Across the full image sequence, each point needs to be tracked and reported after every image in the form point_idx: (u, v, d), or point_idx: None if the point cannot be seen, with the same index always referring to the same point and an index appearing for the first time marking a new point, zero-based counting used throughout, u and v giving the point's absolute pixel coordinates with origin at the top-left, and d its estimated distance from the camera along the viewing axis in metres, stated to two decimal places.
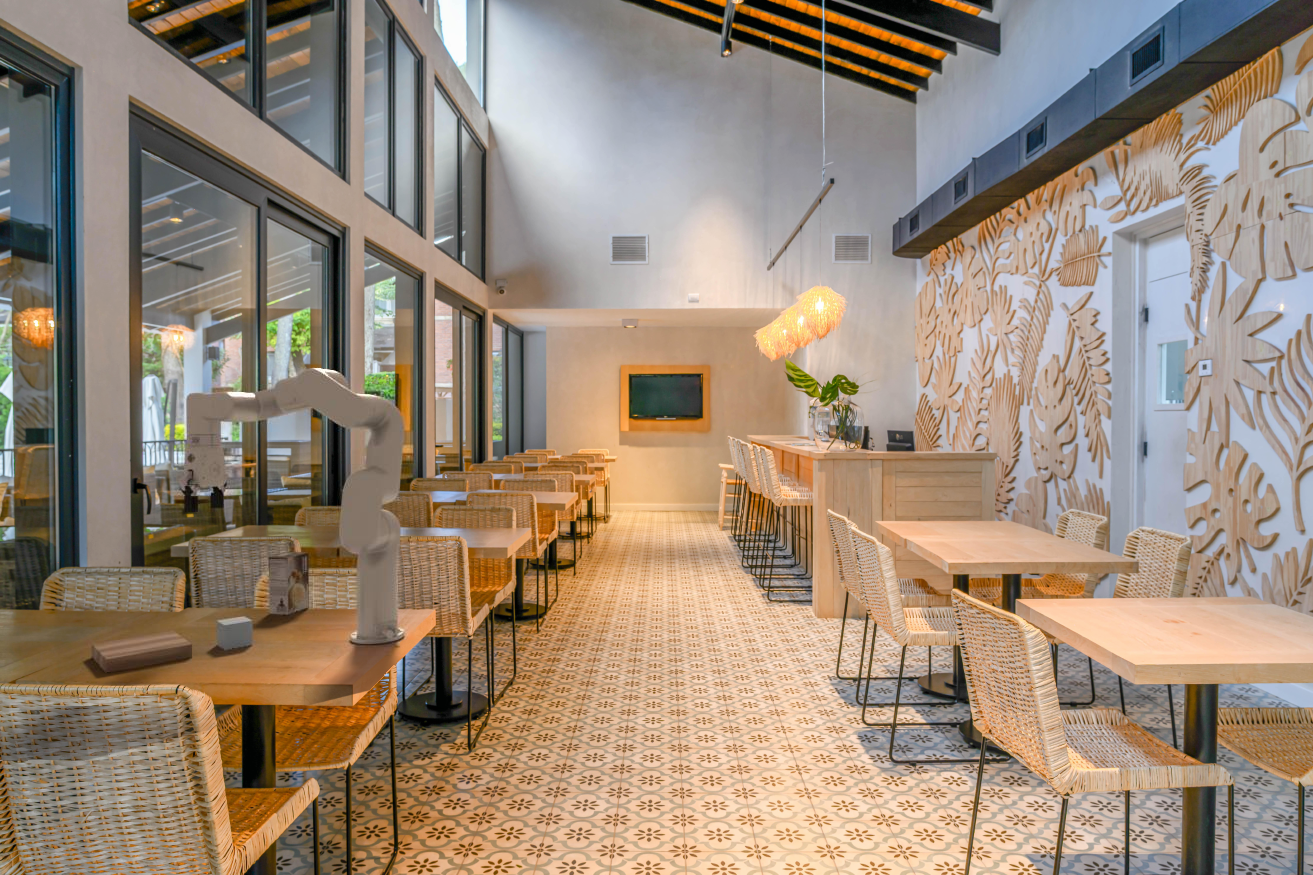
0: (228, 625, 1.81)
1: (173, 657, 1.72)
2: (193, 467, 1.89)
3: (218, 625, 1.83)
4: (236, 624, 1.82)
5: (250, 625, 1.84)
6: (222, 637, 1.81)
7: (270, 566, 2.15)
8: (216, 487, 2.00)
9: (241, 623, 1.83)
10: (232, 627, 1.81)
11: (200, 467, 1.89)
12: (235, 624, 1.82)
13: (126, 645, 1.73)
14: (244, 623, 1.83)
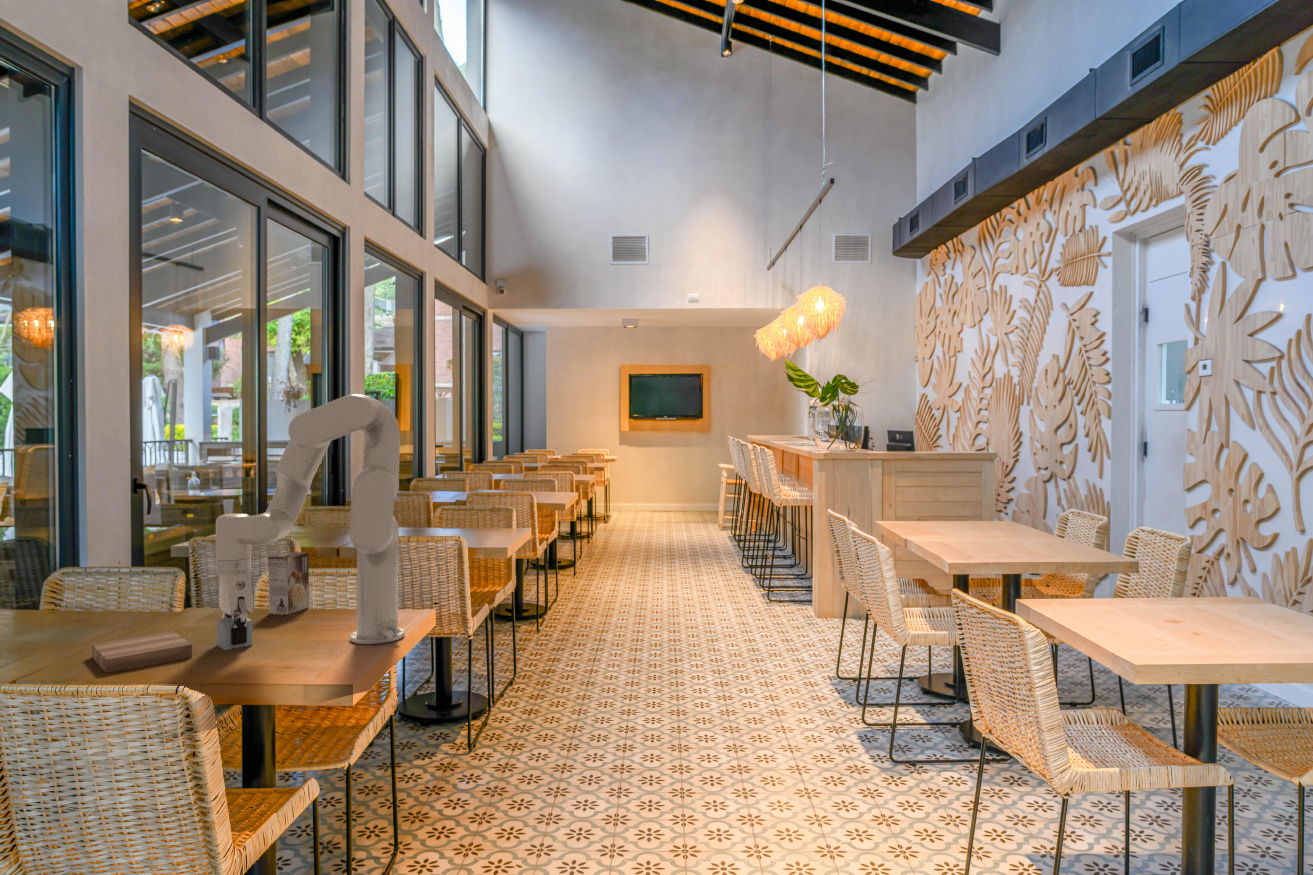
0: (228, 625, 1.81)
1: (173, 657, 1.72)
2: (244, 596, 1.81)
3: (218, 625, 1.83)
4: None
5: (250, 625, 1.84)
6: (222, 637, 1.81)
7: (270, 566, 2.15)
8: None
9: None
10: (231, 626, 1.81)
11: (251, 592, 1.83)
12: None
13: (126, 645, 1.73)
14: None
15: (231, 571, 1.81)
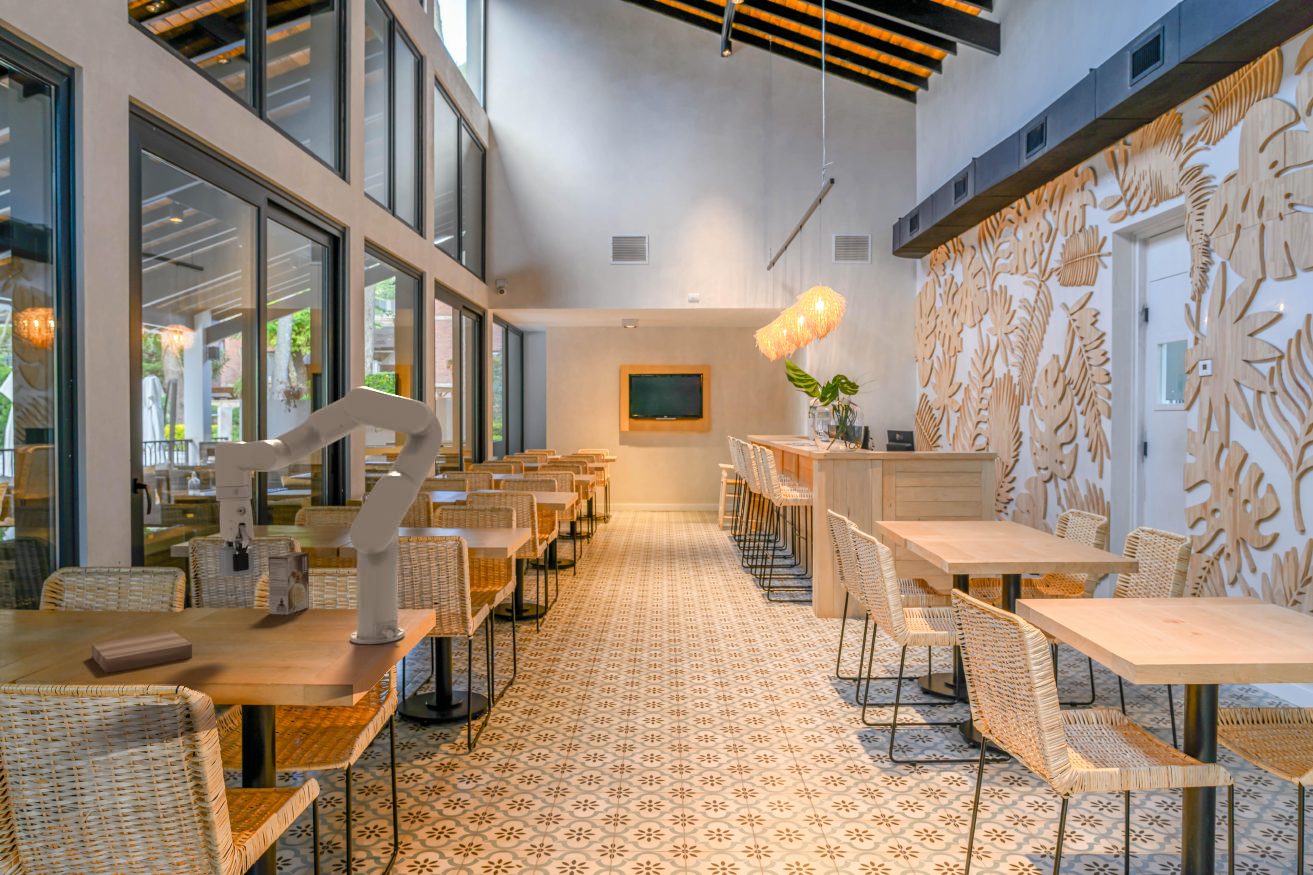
0: (229, 551, 1.81)
1: (173, 657, 1.72)
2: (245, 522, 1.81)
3: (219, 553, 1.83)
4: None
5: (251, 552, 1.84)
6: (224, 564, 1.81)
7: (270, 566, 2.15)
8: (228, 545, 1.87)
9: None
10: (233, 553, 1.81)
11: (252, 519, 1.82)
12: None
13: (126, 645, 1.73)
14: None
15: (231, 497, 1.80)
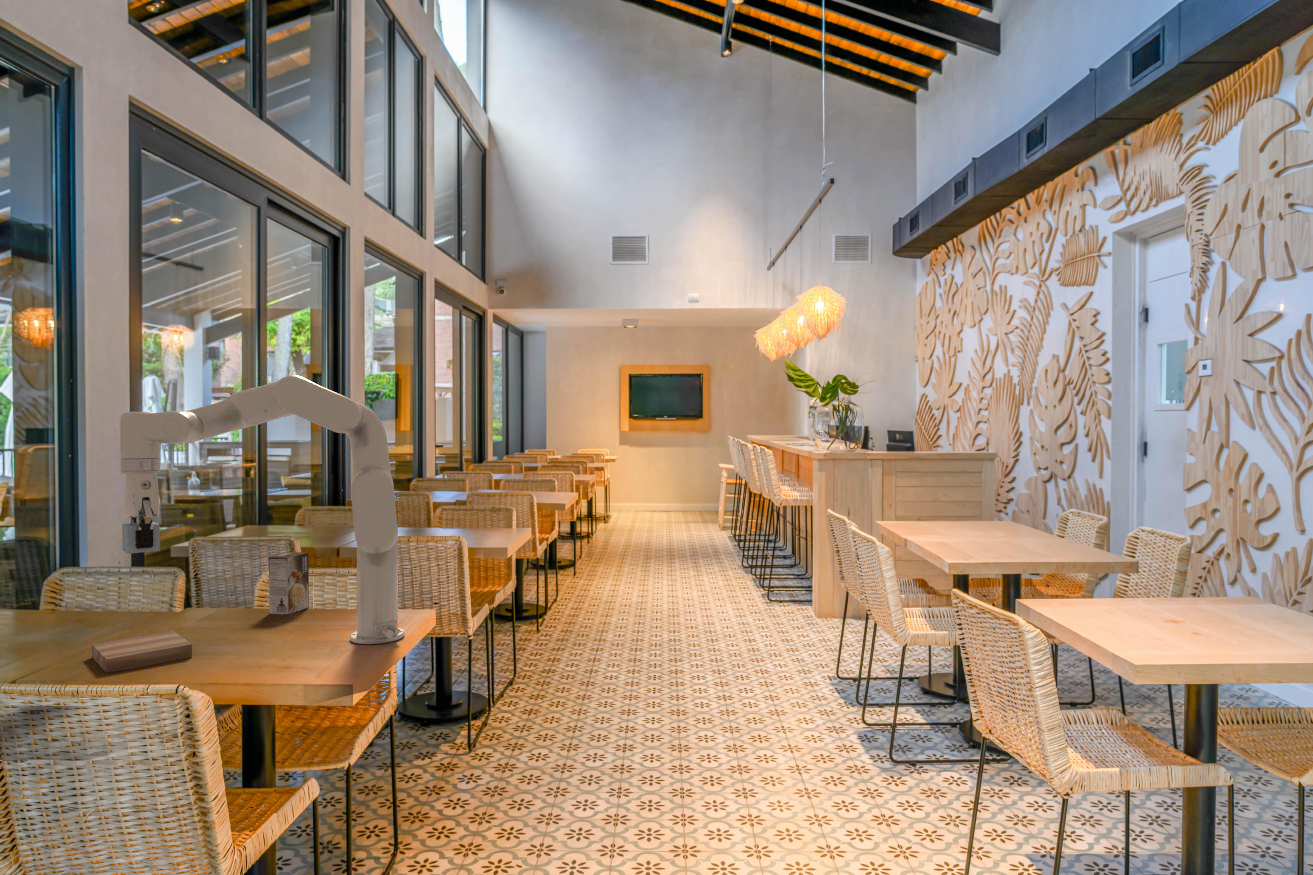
0: (132, 527, 1.71)
1: (173, 657, 1.72)
2: (150, 497, 1.71)
3: (123, 528, 1.73)
4: None
5: (157, 529, 1.74)
6: (126, 540, 1.71)
7: (270, 566, 2.15)
8: (134, 521, 1.77)
9: None
10: (136, 529, 1.71)
11: (157, 494, 1.72)
12: None
13: (126, 645, 1.73)
14: None
15: (135, 470, 1.71)
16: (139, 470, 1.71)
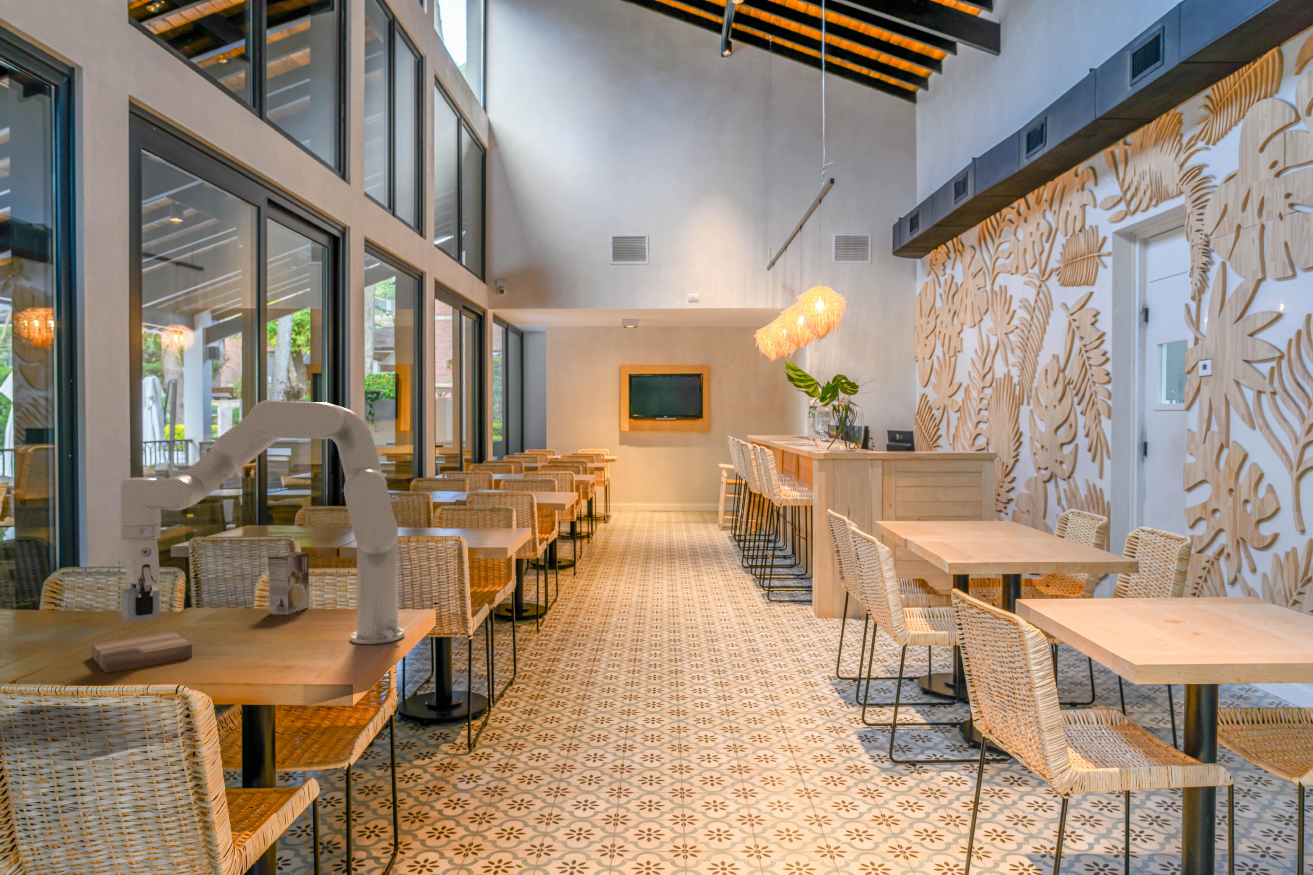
0: (132, 594, 1.71)
1: (173, 657, 1.72)
2: (150, 564, 1.71)
3: (123, 594, 1.73)
4: None
5: (157, 595, 1.74)
6: (126, 607, 1.71)
7: (270, 566, 2.15)
8: (134, 586, 1.77)
9: None
10: (136, 596, 1.71)
11: (157, 560, 1.73)
12: None
13: (126, 645, 1.73)
14: None
15: (136, 537, 1.71)
16: (139, 537, 1.71)
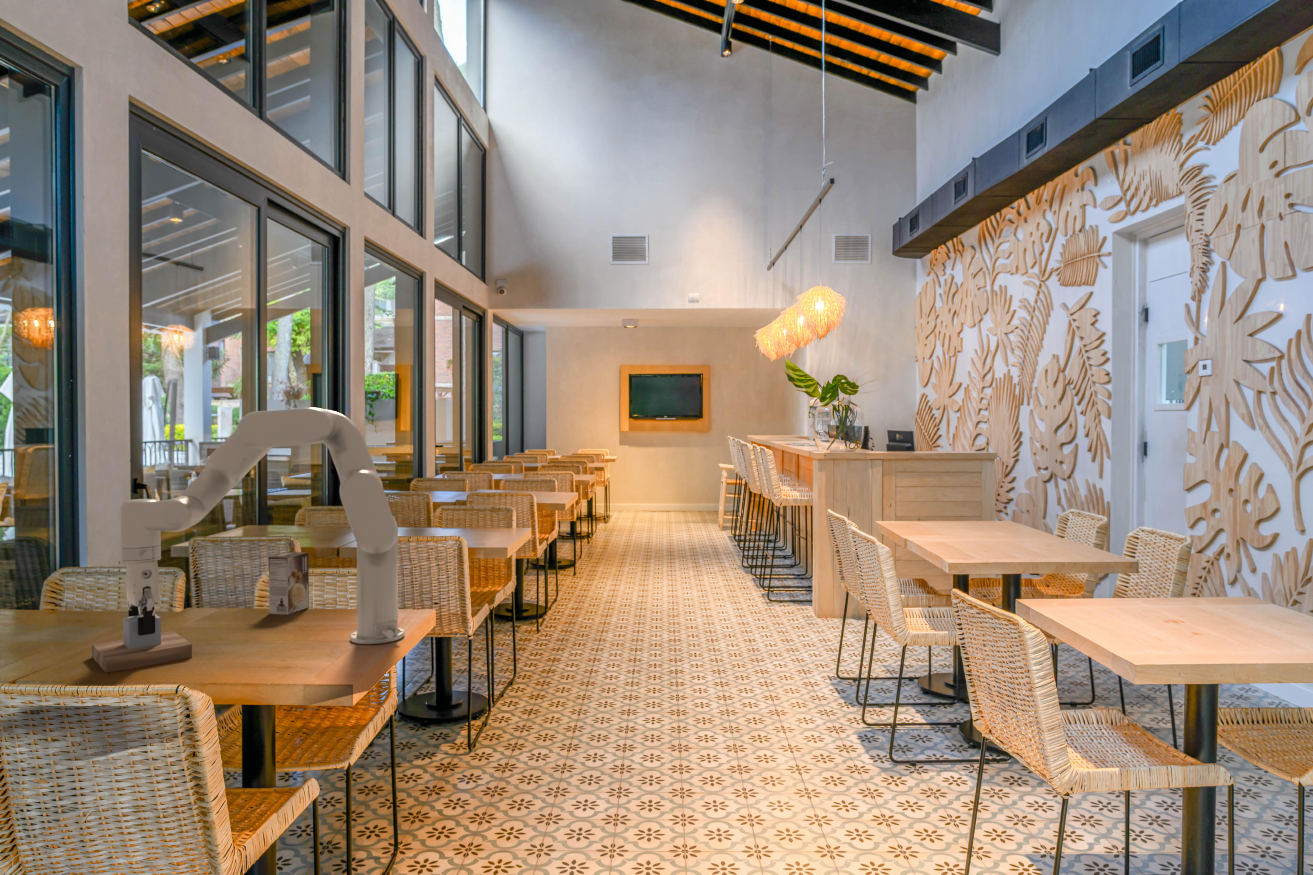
0: (133, 622, 1.71)
1: (173, 657, 1.72)
2: (150, 584, 1.71)
3: (124, 622, 1.74)
4: None
5: (158, 622, 1.74)
6: (127, 635, 1.71)
7: (270, 566, 2.15)
8: None
9: None
10: (137, 624, 1.71)
11: (158, 582, 1.73)
12: None
13: None
14: None
15: (136, 559, 1.71)
16: (140, 559, 1.71)
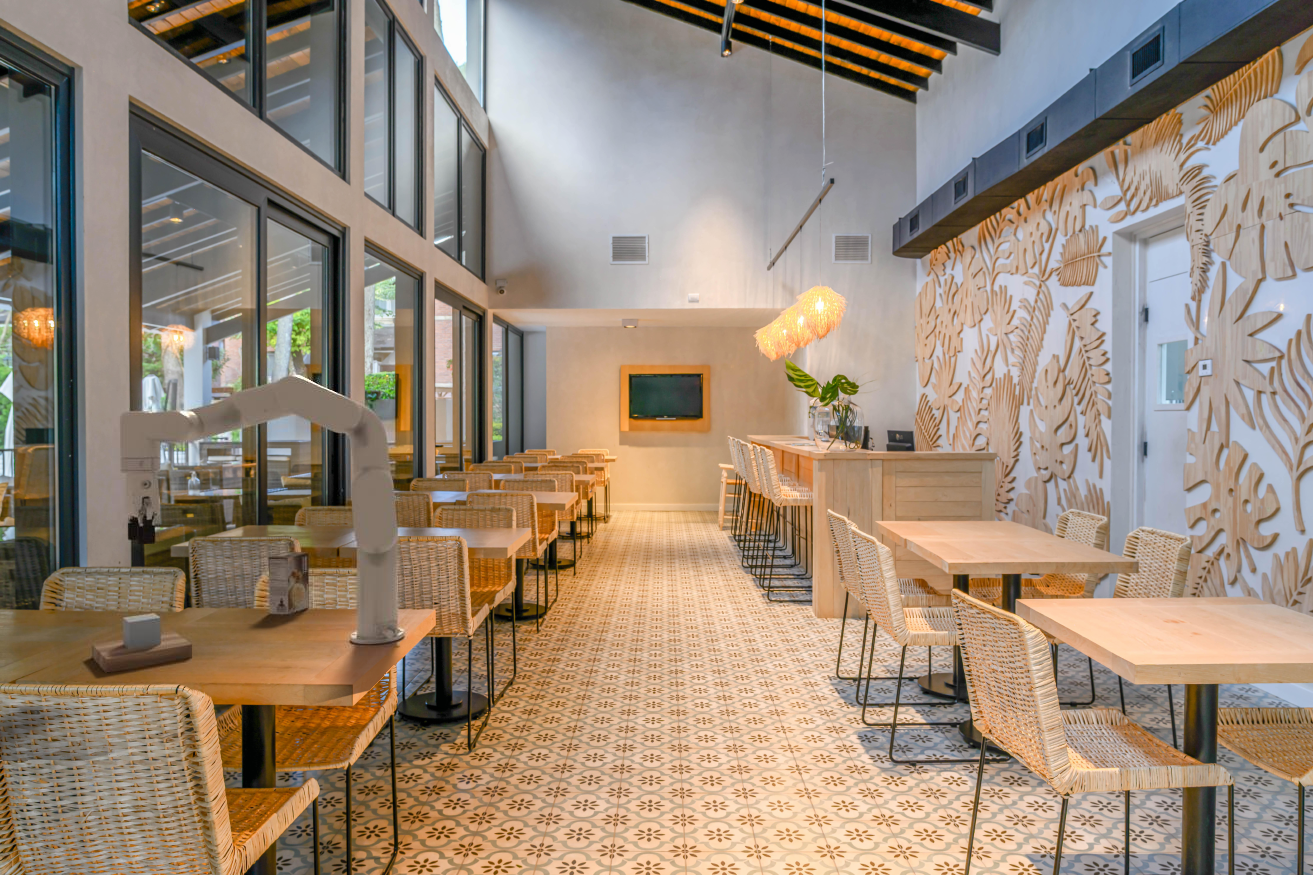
0: (133, 622, 1.71)
1: (173, 657, 1.72)
2: (150, 494, 1.71)
3: (124, 622, 1.74)
4: (142, 621, 1.72)
5: (158, 622, 1.74)
6: (127, 635, 1.71)
7: (270, 566, 2.15)
8: (133, 516, 1.78)
9: (148, 620, 1.73)
10: (137, 624, 1.71)
11: (157, 493, 1.72)
12: (141, 621, 1.72)
13: None
14: (151, 620, 1.73)
15: (135, 469, 1.71)
16: (139, 469, 1.71)
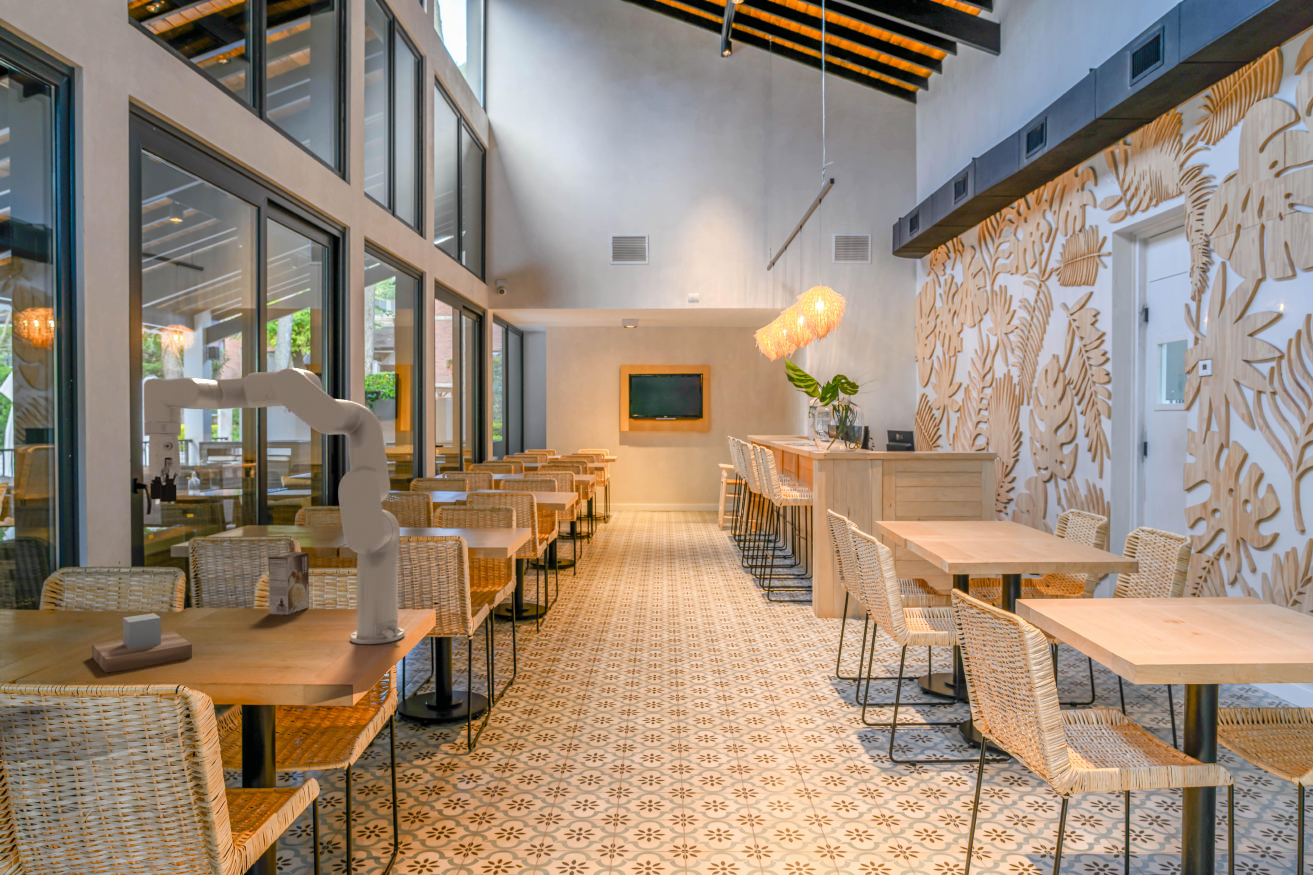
0: (133, 622, 1.71)
1: (173, 657, 1.72)
2: (172, 455, 1.84)
3: (124, 622, 1.74)
4: (142, 621, 1.72)
5: (158, 622, 1.74)
6: (127, 635, 1.71)
7: (270, 566, 2.15)
8: (155, 477, 1.91)
9: (148, 620, 1.73)
10: (137, 624, 1.71)
11: (179, 455, 1.86)
12: (141, 621, 1.72)
13: None
14: (151, 620, 1.73)
15: (158, 432, 1.84)
16: (162, 432, 1.84)
